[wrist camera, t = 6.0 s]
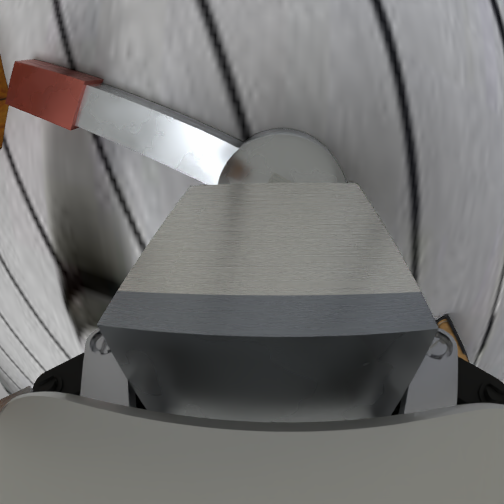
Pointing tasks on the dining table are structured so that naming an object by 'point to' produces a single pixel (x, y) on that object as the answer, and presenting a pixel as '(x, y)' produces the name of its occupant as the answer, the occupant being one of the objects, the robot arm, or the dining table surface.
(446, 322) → the ammunition clip
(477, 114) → the dining table surface
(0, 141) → the mug
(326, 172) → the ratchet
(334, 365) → the brushed metal block
